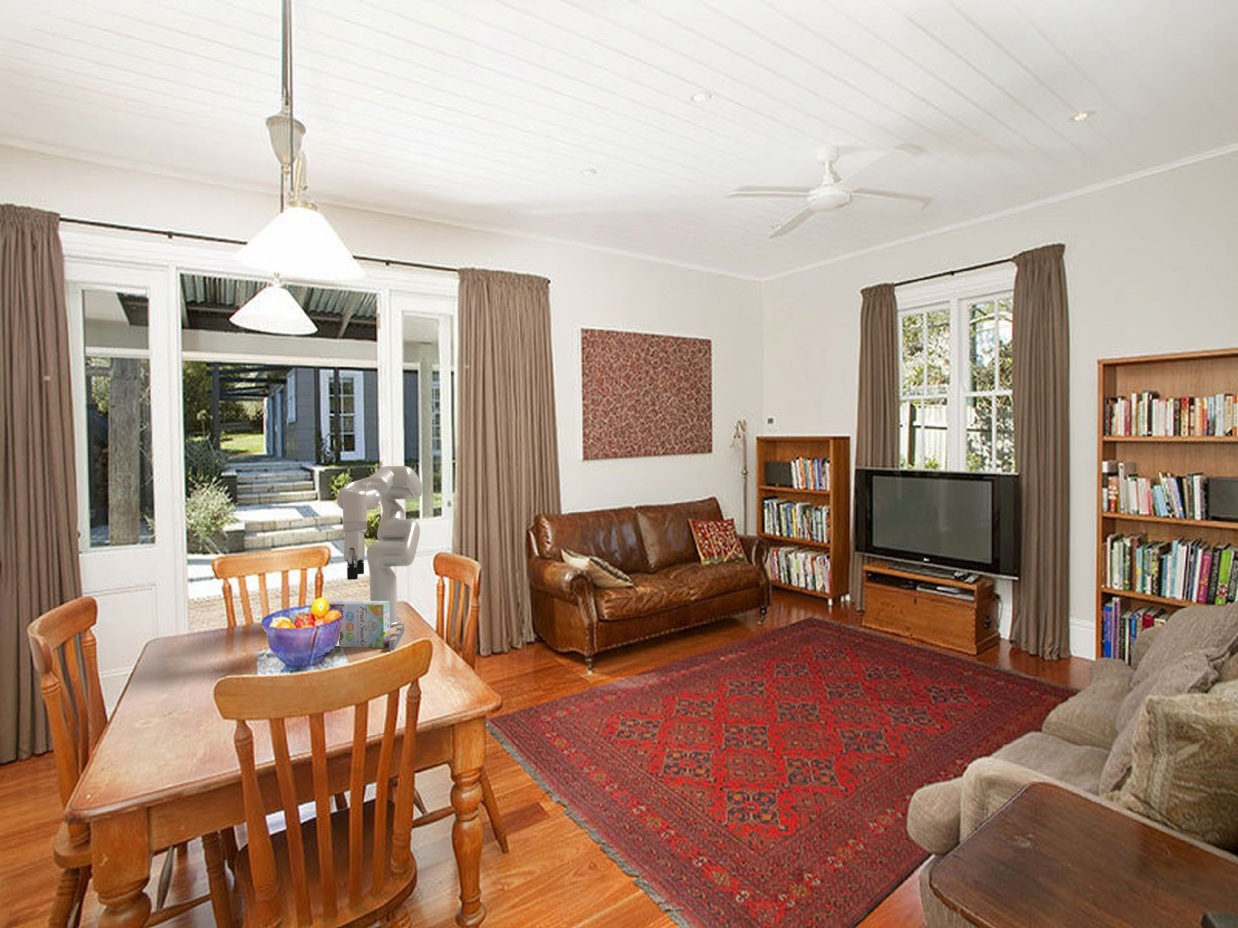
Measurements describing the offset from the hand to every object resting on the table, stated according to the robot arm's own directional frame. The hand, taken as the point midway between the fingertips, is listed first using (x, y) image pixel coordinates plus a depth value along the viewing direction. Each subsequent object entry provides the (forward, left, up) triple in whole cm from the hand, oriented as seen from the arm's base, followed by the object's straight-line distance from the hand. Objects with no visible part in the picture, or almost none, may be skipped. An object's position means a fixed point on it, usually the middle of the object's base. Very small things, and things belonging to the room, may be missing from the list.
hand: (355, 576), depth 216 cm
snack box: (0, 0, -24) cm, 24 cm away
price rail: (-2, +13, -24) cm, 27 cm away
